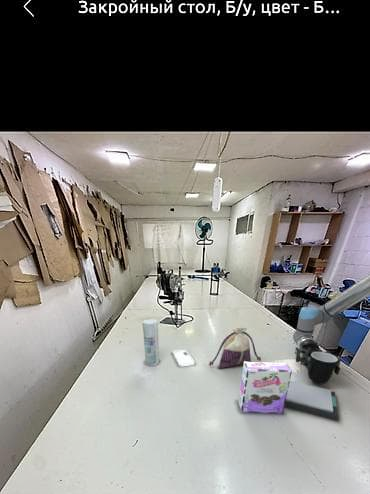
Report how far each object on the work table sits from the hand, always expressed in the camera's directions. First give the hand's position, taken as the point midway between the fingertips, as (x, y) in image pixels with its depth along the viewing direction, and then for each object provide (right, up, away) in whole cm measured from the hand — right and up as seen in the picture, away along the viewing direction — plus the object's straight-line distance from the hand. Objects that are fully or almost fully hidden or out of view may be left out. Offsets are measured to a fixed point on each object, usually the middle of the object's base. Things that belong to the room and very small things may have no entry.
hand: (324, 370), depth 88 cm
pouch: (-29, 0, +20) cm, 35 cm away
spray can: (-67, +1, +22) cm, 71 cm away
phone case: (-53, +3, +26) cm, 59 cm away
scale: (-8, -11, -4) cm, 14 cm away
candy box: (-26, -12, -8) cm, 30 cm away
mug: (+1, -4, +7) cm, 8 cm away
